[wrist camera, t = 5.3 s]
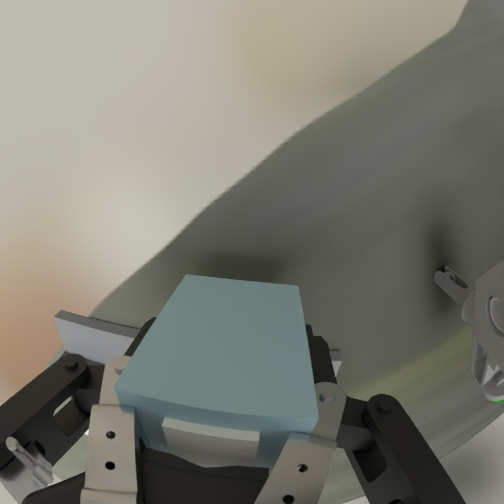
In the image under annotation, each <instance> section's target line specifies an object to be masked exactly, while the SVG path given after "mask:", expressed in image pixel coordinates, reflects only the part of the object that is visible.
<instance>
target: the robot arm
mask: <svg viewBox="0 0 504 504" xmlns="http://www.w3.org/2000/svg"><path fill="white" fill-rule="evenodd" d="M155 320H156V317H153V318H152V319H150V320H149V321H147V322H146V323H145V324H144V326H143V327H142V329H141V331H140V332H139V333H138V334H137V337H135V339H134V340H133V342H132V343H131V345H130V346H129V348H128V349H127V351H126V352H125V354H124V355H123V356H116V357H114V358H112V359H110V360H109V361H108V362H107V363H106V365H88V364H87V361H86V359H85V358H84V357H83V356H82V355H80V354H74V353H73V354H67V355H65V356H63V357H62V358H60V359H59V360H58V361H56V362H55V363H54V364H52V365H51V366H50V367H49V368H47V369H46V370H45V371H44V372H42V373H41V374H40V375H38V376H37V377H36V378H35V379H33V380H32V381H31V382H30V383H28V384H27V385H26V386H25V387H23V388H22V389H21V390H20V391H19V392H17V393H16V394H15V395H14V396H12V397H11V398H10V399H9V400H7V401H6V402H5V403H4V404H3V405H1V406H0V481H1V483H2V484H3V485H4V486H5V488H6V489H7V490H8V492H9V493H10V494H11V495H12V496H13V498H14V499H15V500H16V501H17V502H18V503H19V504H317V502H318V500H319V497H320V495H321V492H322V489H323V487H324V484H325V481H326V478H327V475H328V473H329V470H330V467H331V464H332V460H333V457H334V454H335V451H336V447H338V448H343V449H344V450H345V452H346V454H347V456H348V458H349V461H350V463H351V465H352V467H353V469H354V471H355V473H356V475H357V478H358V480H359V482H360V484H361V486H362V488H363V490H364V493H365V495H366V497H367V499H368V501H369V503H370V504H466V503H465V501H464V500H463V498H462V496H461V495H460V493H459V492H458V490H457V488H456V487H455V485H454V484H453V482H452V480H451V479H450V477H449V476H448V474H447V473H446V471H445V470H444V468H443V466H442V465H441V463H440V462H439V460H438V459H437V457H436V456H435V454H434V453H433V451H432V450H431V448H430V447H429V445H428V444H427V442H426V441H425V439H424V438H423V436H422V435H421V433H420V432H419V430H418V429H417V428H416V426H415V425H414V423H413V422H412V420H411V419H410V417H409V416H408V415H407V413H406V412H405V410H404V409H403V407H402V406H401V405H400V403H399V402H398V401H397V400H396V399H395V398H394V397H392V396H390V395H386V394H378V395H375V396H373V397H371V398H370V399H369V401H368V402H367V401H363V400H358V399H354V398H351V397H348V396H347V395H346V393H345V391H344V390H343V389H342V388H341V387H340V386H339V385H337V381H336V377H335V373H334V368H333V364H332V360H331V356H330V353H329V348H328V344H327V343H326V341H325V340H324V339H323V338H322V337H321V336H313V333H312V328H311V325H307V324H305V327H306V333H307V340H308V346H309V352H310V359H311V365H312V372H313V379H314V386H315V393H316V400H317V408H318V416H319V418H318V420H317V423H316V425H315V427H314V429H313V431H312V434H307V433H302V432H295V431H291V433H290V435H289V437H288V439H287V442H286V444H285V446H284V448H283V450H282V452H281V454H280V456H279V458H278V460H277V462H276V464H275V466H274V468H273V470H272V472H271V474H270V475H269V468H262V467H249V466H239V465H236V466H224V467H201V466H199V465H196V464H194V463H192V462H189V461H187V460H185V459H183V458H180V457H178V456H176V455H174V454H170V453H166V452H162V451H158V450H155V449H152V448H151V445H150V443H149V441H148V439H147V436H146V434H145V431H144V429H143V427H142V424H141V422H140V419H139V416H138V414H137V411H136V408H135V406H129V405H120V403H119V400H118V398H117V395H116V393H115V390H114V388H113V386H114V385H115V383H116V381H117V380H118V378H119V376H120V375H121V373H122V372H123V370H124V368H125V367H126V365H127V363H128V362H129V360H130V359H131V357H132V355H133V354H134V352H135V351H136V349H137V348H138V346H139V344H140V343H141V341H142V340H143V338H144V337H145V335H146V334H147V332H148V330H149V329H150V327H151V326H152V324H153V323H154V321H155ZM69 397H71V399H72V400H71V401H69V402H68V403H67V404H66V405H65V406H64V407H63V408H62V409H61V410H60V411H59V412H57V413H56V414H55V415H54V416H53V414H54V411H55V410H56V408H58V407H59V406H60V405H61V404H62V403H63V402H64V401H65V400H66V399H67V398H69ZM88 429H89V433H88V443H87V455H86V471H85V472H83V473H81V474H79V475H76V476H74V477H71V478H69V479H66V480H64V481H62V482H59V483H56V484H54V485H51V486H48V487H47V484H50V483H52V482H53V475H52V474H53V469H52V467H53V466H54V465H55V464H56V462H57V461H58V460H59V459H60V458H61V457H62V456H63V455H64V454H65V453H66V452H67V451H68V450H69V449H70V448H71V447H72V446H73V445H74V444H75V443H76V442H77V441H78V440H79V439H80V438H81V436H82V435H83V434H84V433H85V432H86V431H87V430H88Z"/></svg>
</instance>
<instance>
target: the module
mask: <svg viewBox="0 0 504 504" xmlns="http://www.w3.org/2000/svg"><path fill="white" fill-rule="evenodd" d="M113 388H114V390H115V393H116V395H117V398H118V400H119V403H120V405H129V406H135V408H136V411H137V414H138V416H139V419H140V422H141V424H142V427H143V429H144V431H145V434H146V436H147V439H148V441H149V443H150V445H151V448H152V449H155V450H158V451H162V452H166V453H170V454H174V455H176V456H178V457H180V458H183V459H185V460H187V461H189V462H192V463H194V464H196V465H199V466H201V467H224V466H236V465H239V466H249V467H262V468H269V475H270V474H271V472H272V470H273V468H274V466H275V464H276V462H277V460H278V458H279V456H280V454H281V452H282V450H283V448H284V446H285V444H286V442H287V439H288V437H289V435H290V433H291V431H295V432H302V433H307V434H312V431H313V429H314V427H315V425H316V423H317V420H318V418H319V416H318V408H317V400H316V393H315V386H314V379H313V372H312V365H311V359H310V352H309V346H308V340H307V333H306V327H305V321H304V316H303V310H302V304H301V298H300V293H299V287H298V285H286V284H275V283H264V282H254V281H244V280H234V279H225V278H215V277H206V276H198V275H189V274H186V275H185V277H184V278H183V280H182V281H181V283H180V284H179V285H178V287H177V288H176V290H175V291H174V293H173V294H172V296H171V297H170V299H169V300H168V302H167V303H166V305H165V306H164V308H163V309H162V311H161V312H160V314H159V315H158V317H157V318H156V320H155V321H154V323H153V324H152V326H151V327H150V329H149V330H148V332H147V334H146V335H145V337H144V338H143V340H142V341H141V343H140V344H139V346H138V348H137V349H136V351H135V352H134V354H133V355H132V357H131V359H130V360H129V362H128V363H127V365H126V367H125V368H124V370H123V372H122V373H121V375H120V376H119V378H118V380H117V381H116V383H115V385H114V386H113Z"/></svg>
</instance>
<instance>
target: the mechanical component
mask: <svg viewBox="0 0 504 504" xmlns="http://www.w3.org/2000/svg"><path fill="white" fill-rule="evenodd" d="M434 281H435V283H436V284H437V285H438V286H439V287H440V288H442V289H443V290H444V291H445V292H446V293H447V294H448V295H449V296H450V297H451V298H452V299H453V300H454V301H455V302H456V303H457V304H458V305H459V306H460V307H461V308H462V311H461V317H462V320H463V321H464V322H465V323H468V324H470V325H471V326H472V327H473V329H474V331H473V342H472V351H471V358H470V369H471V373H472V376H473V378H474V380H475V382H476V384H477V385H478V387H479V388H480V390H481V391H482V393H483V394H484V396H485V397H486V398H487V399H488V400H491V401H492V402H493V403H500V402H502V401H503V400H504V260H502V261H501V262H500V263H498V264H497V265H495V266H494V267H492V268H491V269H490V270H488V271H487V272H485V273H484V274H482V275H481V276H479V277H478V278H477V280H476V284H475V288H474V287H472V286H471V285H470V284H469V283H468V282H466V281H465V280H464V279H463V278H461V277H460V276H459V275H458V274H456V273H455V272H454V271H453V270H451V269H450V268H449V267H447V266H445V273H443V272H441V271H436V272H435V274H434Z"/></svg>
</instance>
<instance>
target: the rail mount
mask: <svg viewBox="0 0 504 504" xmlns="http://www.w3.org/2000/svg"><path fill="white" fill-rule="evenodd" d="M54 319H55V322H56V325H57V328H58V331H59V334H60V337H61V340H62V343H63V346H64V349H65V352H64V354H63V355H62V356H61V357H60V358H62V357H63V356H65V355H67V354H73V353H74V354H80V355H82V356H83V357H84V358H85V359H86V361H87V364H88V365H106V363H107V362H108V361H109V360H110V359H112V358H114V357H116V356H123V355H124V354H125V352H126V351H127V349H128V348H129V346H130V345H131V343H132V342H133V340H134V339H135V337H137V334H138V333H139V332H140V331H141V330H140V329H135V328H131V327H126V326H121V325H117V324H113V323H108V322H104V321H100V320H96V319H92V318H88V317H84V316H80V315H77V314H73V313H70V312H66V311H63V310H60V311H59V312H58V313H57V314H56V315H55V316H54ZM329 353H330V356H331V360H332V364H333V368H334V373H335V377H336V375H337V373H338V370H339V368H340V365H341V362H342V359H341V356H340V353H339V351H329ZM60 358H59V359H60ZM88 433H89V429H88V430H87V431H86V432H85V433H84V434H86V435H88Z"/></svg>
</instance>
